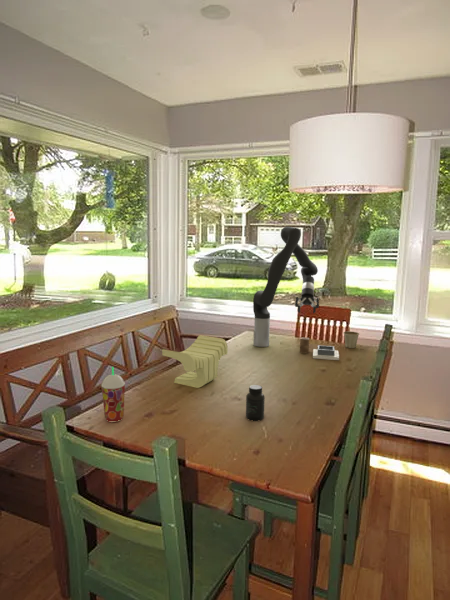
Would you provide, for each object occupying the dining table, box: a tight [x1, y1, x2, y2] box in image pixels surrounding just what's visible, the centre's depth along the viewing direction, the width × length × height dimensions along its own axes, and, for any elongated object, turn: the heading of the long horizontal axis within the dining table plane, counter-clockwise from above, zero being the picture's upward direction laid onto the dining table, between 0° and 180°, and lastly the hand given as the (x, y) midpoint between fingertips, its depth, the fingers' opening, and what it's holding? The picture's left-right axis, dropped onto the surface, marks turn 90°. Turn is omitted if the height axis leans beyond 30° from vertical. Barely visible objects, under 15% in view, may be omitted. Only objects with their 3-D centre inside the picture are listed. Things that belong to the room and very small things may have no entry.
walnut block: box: [299, 337, 310, 354], centre depth 250 cm, size 5×4×8 cm
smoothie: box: [100, 366, 126, 421], centre depth 157 cm, size 8×8×20 cm
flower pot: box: [342, 330, 360, 349], centre depth 261 cm, size 9×9×9 cm
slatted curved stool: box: [161, 334, 229, 389], centre depth 198 cm, size 30×16×18 cm, turn 151°
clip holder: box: [312, 345, 340, 361], centre depth 242 cm, size 14×14×4 cm
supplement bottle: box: [245, 384, 266, 422], centre depth 161 cm, size 7×7×12 cm
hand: (306, 312), depth 260 cm, fingers open, 8 cm apart
